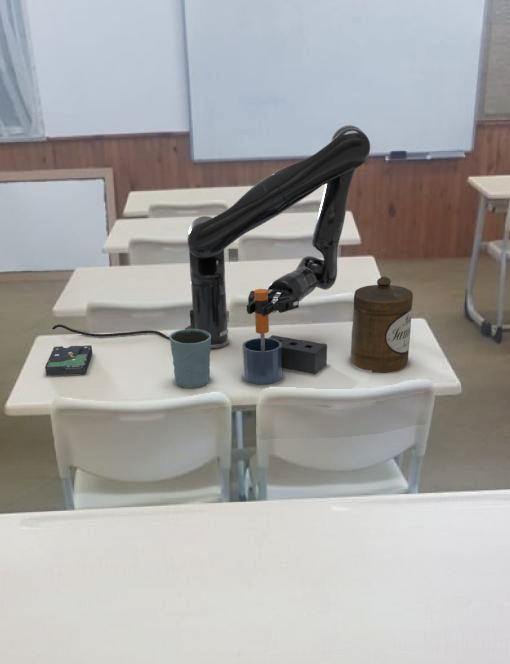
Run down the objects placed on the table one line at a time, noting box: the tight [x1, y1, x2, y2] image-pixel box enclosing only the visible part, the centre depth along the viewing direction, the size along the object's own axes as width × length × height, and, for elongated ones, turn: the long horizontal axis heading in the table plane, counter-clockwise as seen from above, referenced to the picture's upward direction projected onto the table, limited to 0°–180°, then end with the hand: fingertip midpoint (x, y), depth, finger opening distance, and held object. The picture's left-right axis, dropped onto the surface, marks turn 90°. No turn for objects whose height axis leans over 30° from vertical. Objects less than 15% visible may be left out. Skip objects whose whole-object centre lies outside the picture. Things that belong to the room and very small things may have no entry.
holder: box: [268, 334, 328, 375], centre depth 218 cm, size 16×7×6 cm, turn 61°
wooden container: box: [350, 276, 414, 373], centre depth 214 cm, size 15×15×22 cm
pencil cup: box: [241, 337, 283, 386], centre depth 210 cm, size 10×10×9 cm
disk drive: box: [44, 344, 93, 377], centre depth 223 cm, size 10×3×15 cm
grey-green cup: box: [169, 328, 211, 389], centre depth 209 cm, size 10×10×12 cm
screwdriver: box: [253, 288, 270, 351], centre depth 205 cm, size 3×3×16 cm
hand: (255, 310), depth 201 cm, fingers closed on screwdriver, 3 cm apart
